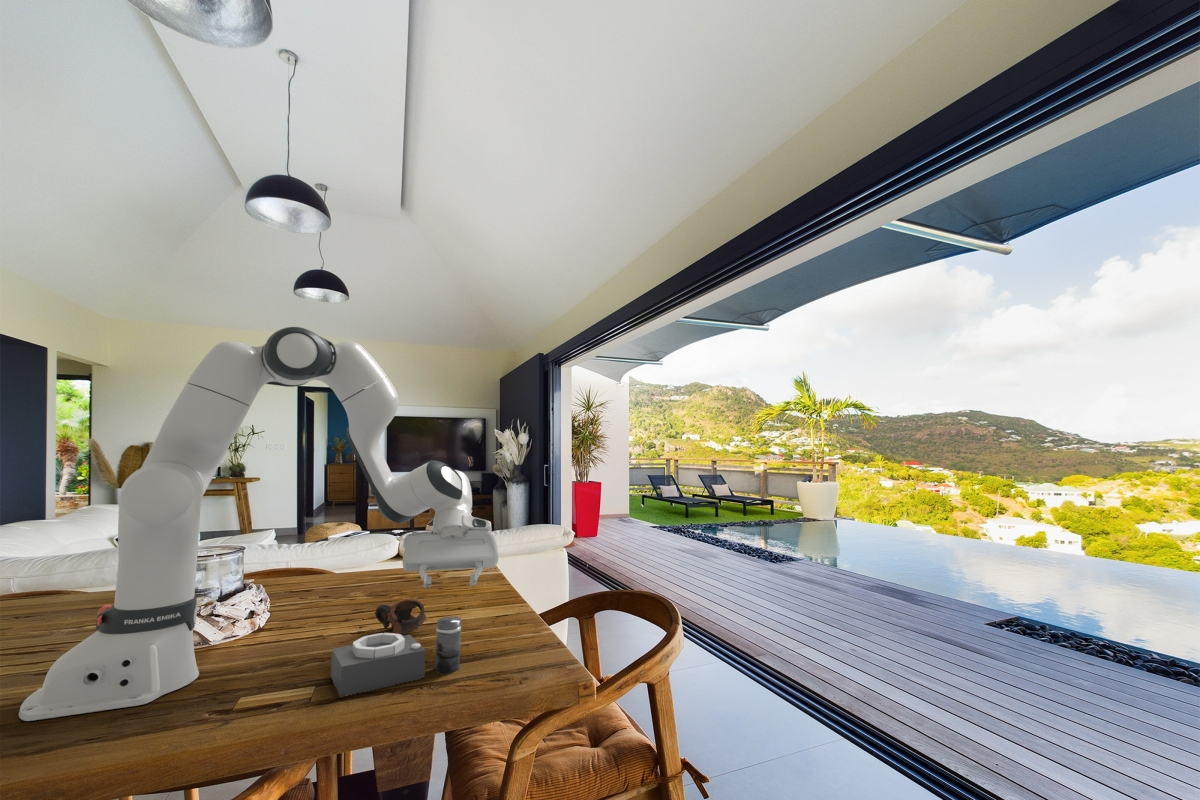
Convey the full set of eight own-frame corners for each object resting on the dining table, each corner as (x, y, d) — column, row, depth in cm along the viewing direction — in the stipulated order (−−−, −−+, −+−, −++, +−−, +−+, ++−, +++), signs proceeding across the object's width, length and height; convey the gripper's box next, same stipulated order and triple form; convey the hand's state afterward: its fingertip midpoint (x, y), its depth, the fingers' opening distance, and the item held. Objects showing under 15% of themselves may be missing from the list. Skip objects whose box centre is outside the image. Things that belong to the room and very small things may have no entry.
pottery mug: (429, 626, 128) (434, 600, 125) (413, 657, 119) (418, 630, 116) (380, 613, 128) (384, 586, 125) (361, 643, 119) (364, 616, 116)
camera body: (340, 697, 89) (342, 657, 90) (330, 677, 98) (332, 640, 98) (424, 678, 97) (425, 641, 98) (409, 660, 105) (410, 626, 106)
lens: (439, 675, 99) (441, 625, 100) (431, 667, 102) (433, 618, 103) (463, 670, 101) (464, 621, 102) (454, 662, 105) (456, 614, 106)
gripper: (404, 523, 118) (397, 579, 108) (497, 521, 124) (500, 573, 113) (405, 541, 122) (398, 596, 112) (495, 537, 127) (497, 590, 117)
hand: (450, 585), depth 112 cm, fingers open, 8 cm apart
